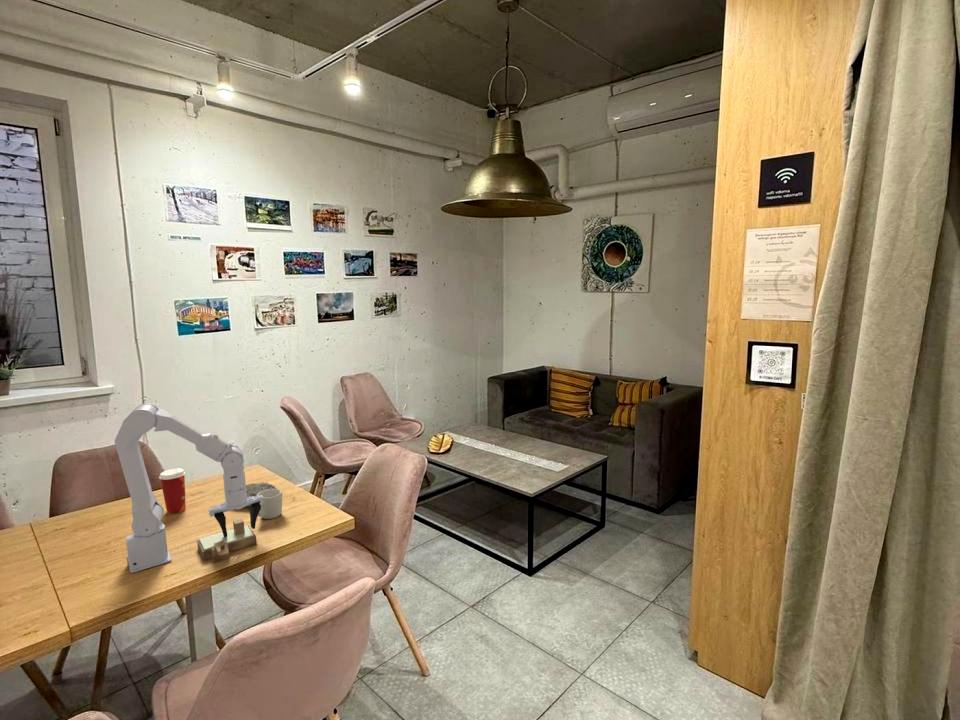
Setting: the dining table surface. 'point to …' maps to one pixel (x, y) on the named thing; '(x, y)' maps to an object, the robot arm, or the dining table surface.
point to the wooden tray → (231, 548)
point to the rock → (257, 488)
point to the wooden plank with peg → (221, 548)
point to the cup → (271, 503)
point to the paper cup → (174, 490)
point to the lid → (232, 535)
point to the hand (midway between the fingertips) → (239, 531)
